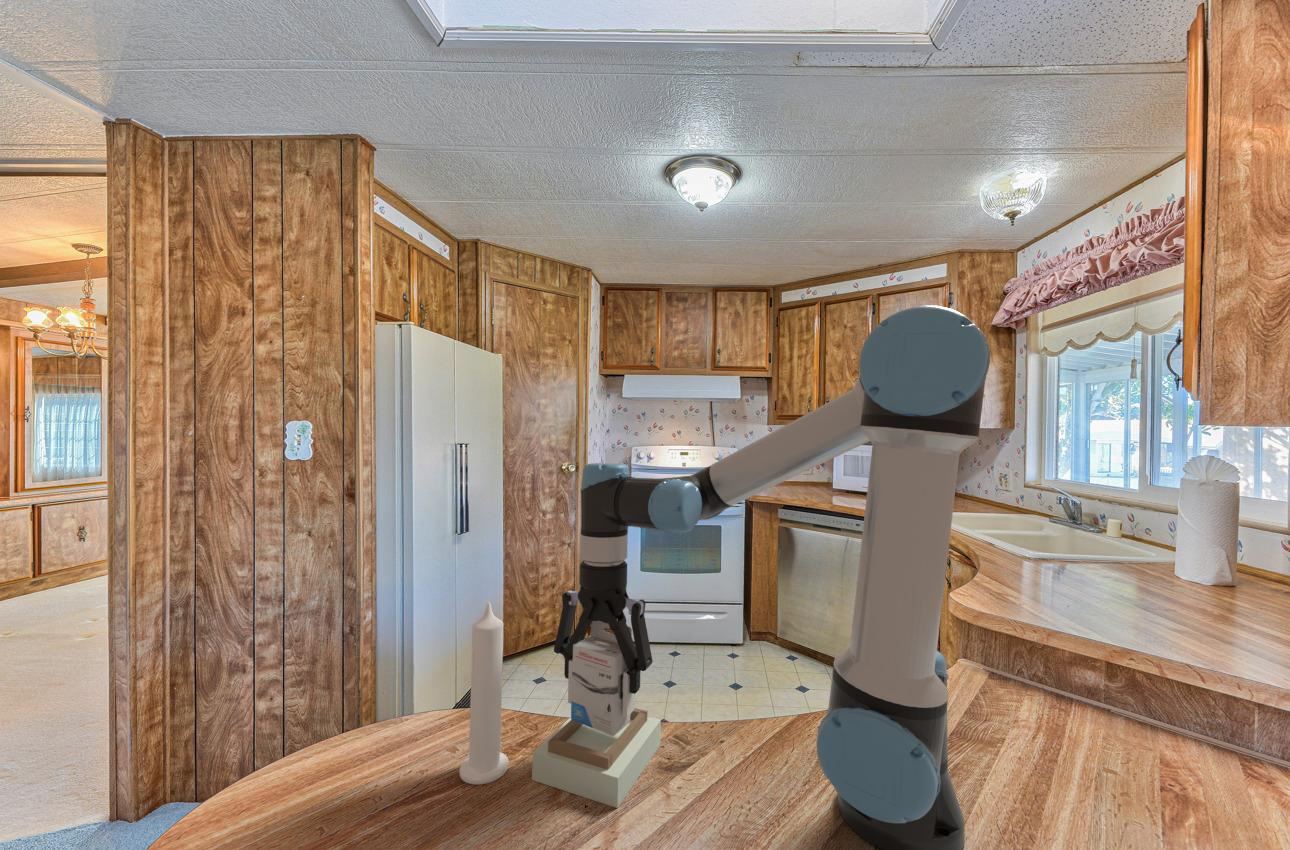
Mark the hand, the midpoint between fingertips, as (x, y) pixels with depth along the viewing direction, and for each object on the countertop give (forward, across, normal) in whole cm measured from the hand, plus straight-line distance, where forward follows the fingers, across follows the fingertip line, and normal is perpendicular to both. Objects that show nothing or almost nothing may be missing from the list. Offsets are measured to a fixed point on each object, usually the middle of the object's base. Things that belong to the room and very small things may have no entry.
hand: (600, 705), depth 79 cm
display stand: (+8, 0, 0) cm, 8 cm away
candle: (+9, +15, +9) cm, 20 cm away
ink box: (+3, 0, 0) cm, 3 cm away
